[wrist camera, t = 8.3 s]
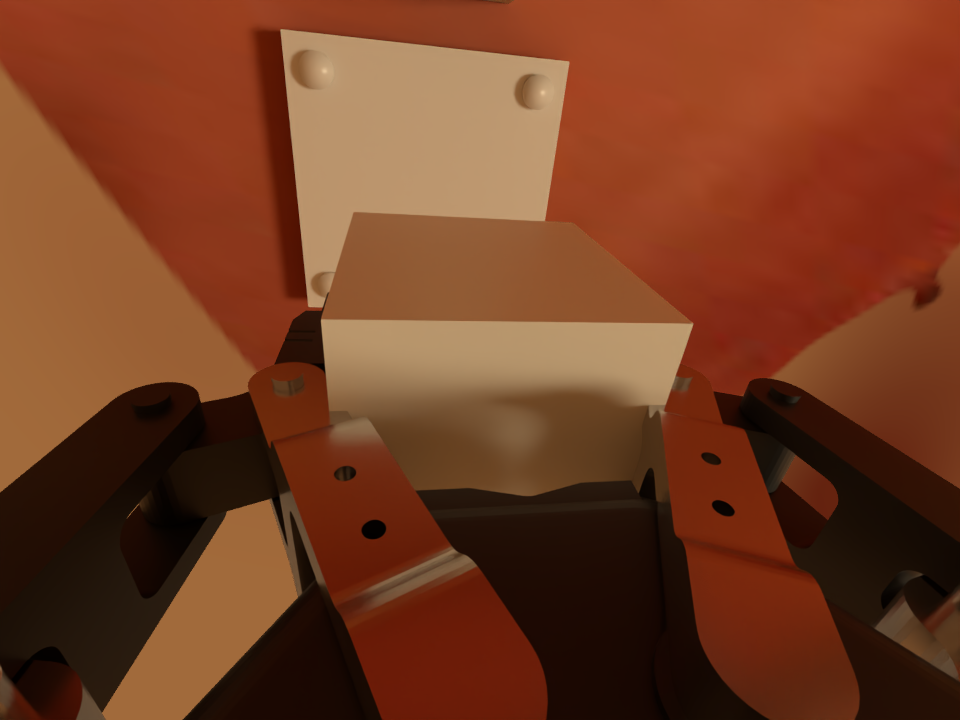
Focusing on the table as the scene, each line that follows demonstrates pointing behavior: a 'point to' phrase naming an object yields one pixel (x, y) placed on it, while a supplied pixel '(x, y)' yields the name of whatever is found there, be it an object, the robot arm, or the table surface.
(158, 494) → the robot arm
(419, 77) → the baseplate
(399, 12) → the table surface
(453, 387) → the cream brick
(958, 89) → the table surface
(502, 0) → the sage brick
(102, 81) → the table surface
